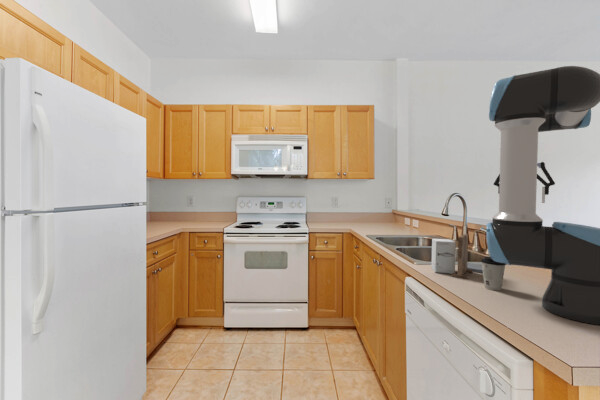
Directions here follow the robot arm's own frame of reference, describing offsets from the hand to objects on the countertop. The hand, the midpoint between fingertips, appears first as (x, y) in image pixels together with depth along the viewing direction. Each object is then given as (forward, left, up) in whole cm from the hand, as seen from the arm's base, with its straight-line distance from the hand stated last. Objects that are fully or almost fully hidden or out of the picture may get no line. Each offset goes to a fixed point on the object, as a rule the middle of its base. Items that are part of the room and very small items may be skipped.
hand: (522, 202), depth 122 cm
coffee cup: (-39, +6, -28) cm, 48 cm away
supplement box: (-27, +24, -28) cm, 46 cm away
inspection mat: (-15, +13, -28) cm, 34 cm away
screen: (-27, +17, -28) cm, 42 cm away
